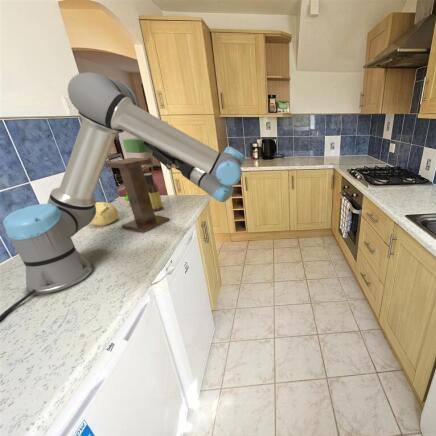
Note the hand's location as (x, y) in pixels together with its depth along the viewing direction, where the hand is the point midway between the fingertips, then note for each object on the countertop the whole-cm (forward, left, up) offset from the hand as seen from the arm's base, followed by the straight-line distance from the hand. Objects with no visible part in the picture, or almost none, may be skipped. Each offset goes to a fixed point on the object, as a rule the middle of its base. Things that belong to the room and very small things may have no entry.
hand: (150, 140), depth 94 cm
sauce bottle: (+16, +28, -39) cm, 50 cm away
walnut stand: (0, +16, -38) cm, 42 cm away
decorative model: (+20, +46, -39) cm, 63 cm away
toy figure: (0, +3, -4) cm, 6 cm away
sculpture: (-6, +37, -39) cm, 54 cm away
